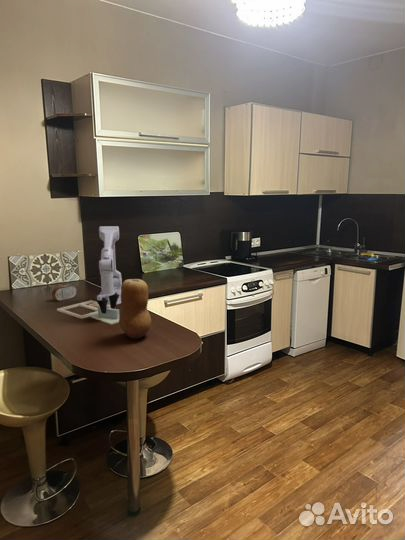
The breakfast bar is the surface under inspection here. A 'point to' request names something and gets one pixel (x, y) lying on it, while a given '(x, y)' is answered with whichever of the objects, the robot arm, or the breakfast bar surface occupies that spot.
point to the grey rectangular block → (109, 313)
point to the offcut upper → (94, 305)
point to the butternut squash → (134, 308)
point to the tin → (64, 292)
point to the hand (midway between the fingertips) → (108, 311)
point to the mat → (106, 319)
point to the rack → (81, 306)
